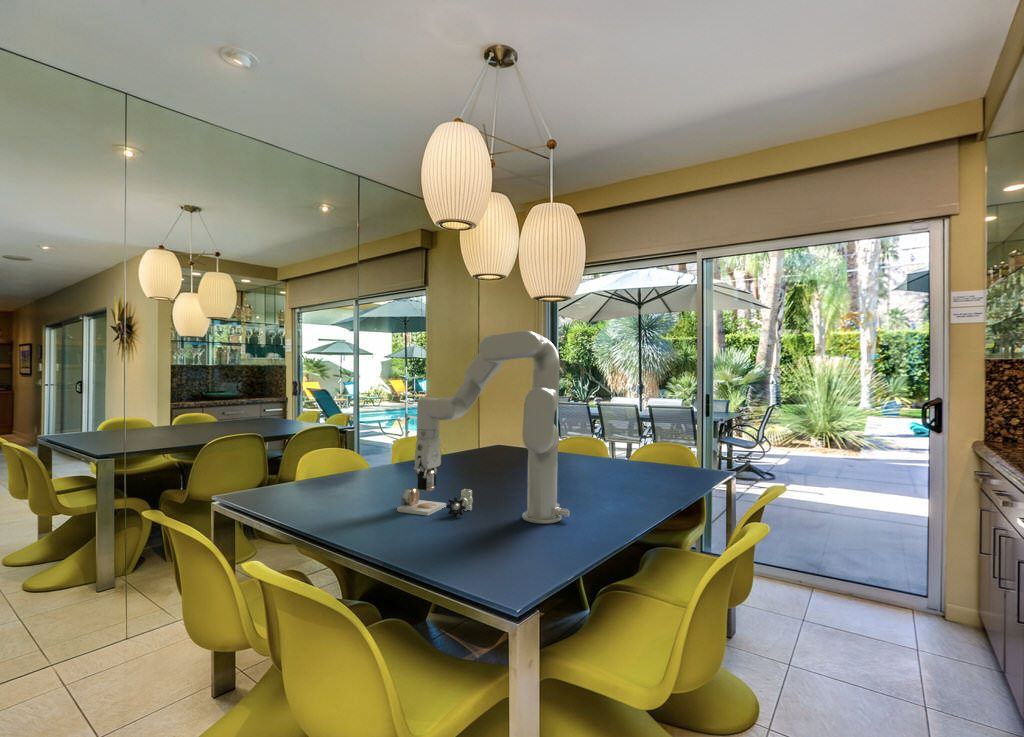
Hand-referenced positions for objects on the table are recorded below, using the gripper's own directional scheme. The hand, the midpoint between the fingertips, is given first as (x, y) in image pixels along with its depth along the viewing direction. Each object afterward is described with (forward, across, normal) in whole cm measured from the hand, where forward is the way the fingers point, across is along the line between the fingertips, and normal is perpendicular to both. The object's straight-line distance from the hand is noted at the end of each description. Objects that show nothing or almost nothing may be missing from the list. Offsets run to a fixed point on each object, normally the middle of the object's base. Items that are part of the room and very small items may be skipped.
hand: (426, 487), depth 170 cm
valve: (+8, +2, -13) cm, 15 cm away
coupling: (+1, 0, 0) cm, 1 cm away
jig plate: (+8, 0, +2) cm, 8 cm away
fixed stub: (+8, 0, +6) cm, 10 cm away
